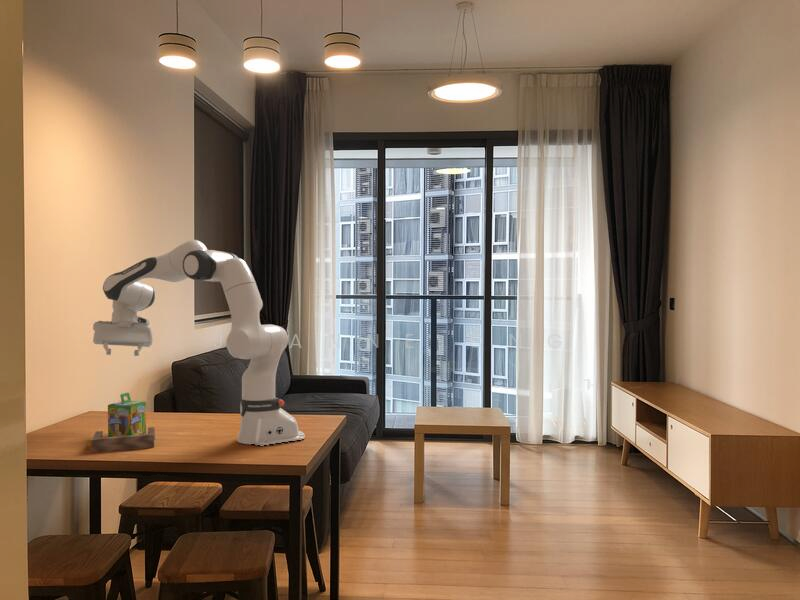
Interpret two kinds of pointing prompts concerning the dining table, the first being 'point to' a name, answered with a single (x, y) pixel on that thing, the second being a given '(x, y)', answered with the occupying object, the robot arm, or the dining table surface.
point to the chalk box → (126, 417)
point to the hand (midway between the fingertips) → (122, 354)
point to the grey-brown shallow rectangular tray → (122, 441)
